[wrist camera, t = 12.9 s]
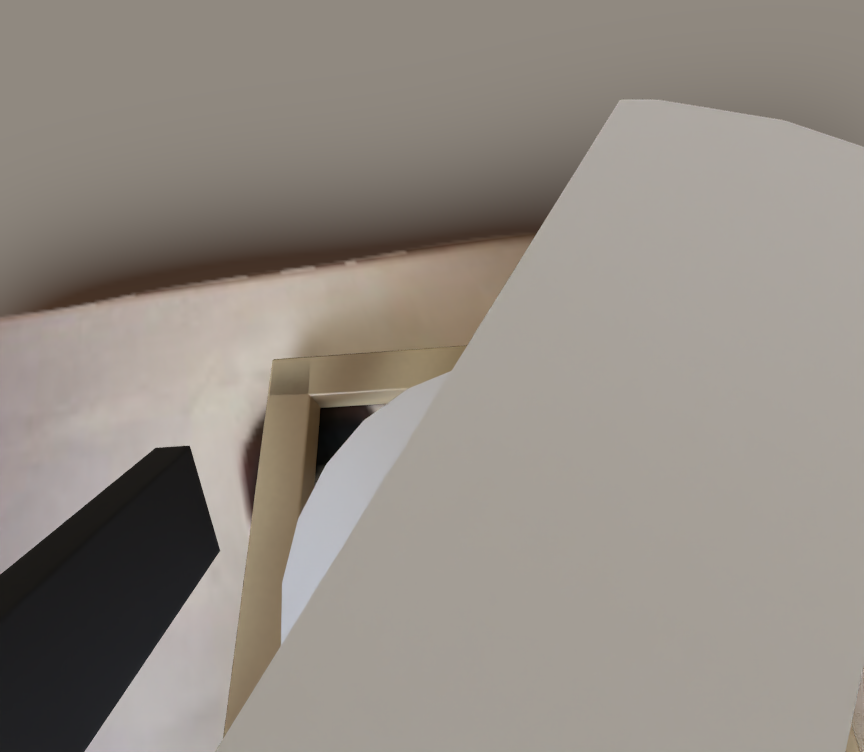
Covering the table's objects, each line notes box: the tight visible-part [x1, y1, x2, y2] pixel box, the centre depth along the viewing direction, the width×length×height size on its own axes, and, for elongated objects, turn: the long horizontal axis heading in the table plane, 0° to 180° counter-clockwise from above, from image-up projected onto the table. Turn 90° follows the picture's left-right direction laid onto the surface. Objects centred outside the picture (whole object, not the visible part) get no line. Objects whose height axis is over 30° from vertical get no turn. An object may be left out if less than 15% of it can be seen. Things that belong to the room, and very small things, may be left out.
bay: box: [223, 345, 860, 752], centre depth 14 cm, size 15×14×1 cm
